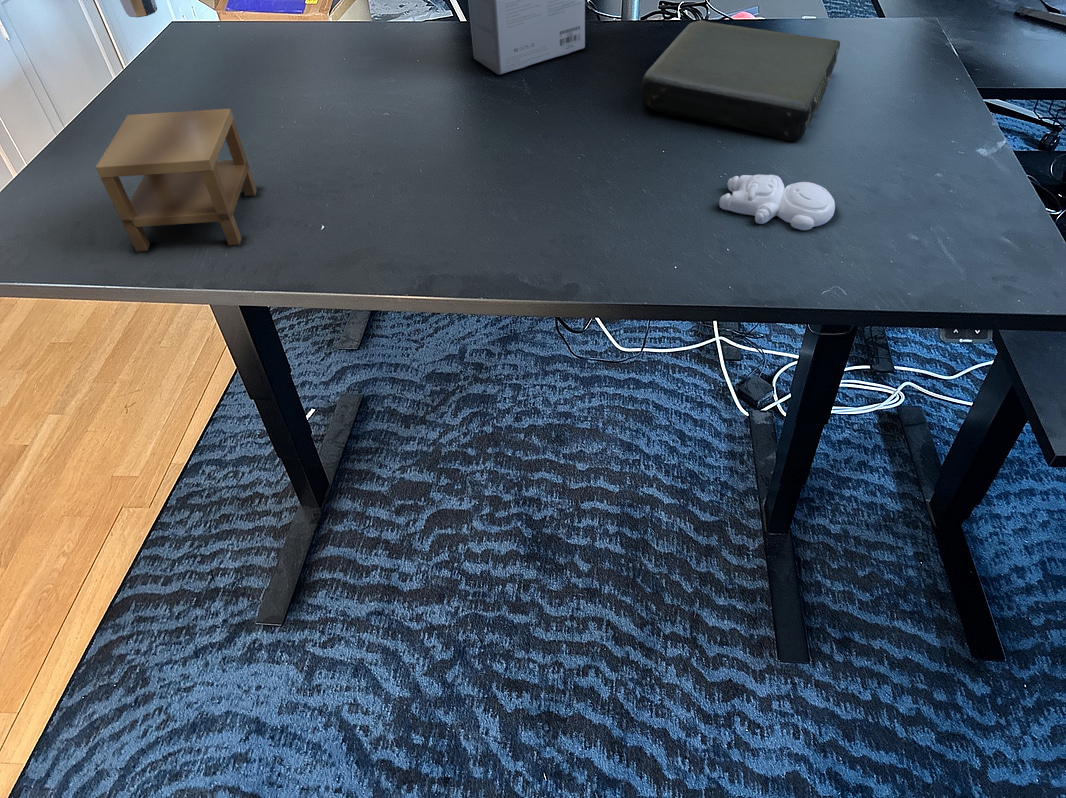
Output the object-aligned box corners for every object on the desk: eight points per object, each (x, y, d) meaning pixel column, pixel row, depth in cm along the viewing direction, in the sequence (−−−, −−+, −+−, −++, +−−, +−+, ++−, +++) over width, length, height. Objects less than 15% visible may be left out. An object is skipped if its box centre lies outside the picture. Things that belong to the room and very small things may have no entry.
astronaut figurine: (734, 176, 89) (738, 152, 87) (839, 198, 86) (847, 174, 83) (711, 214, 84) (715, 190, 82) (823, 240, 80) (830, 215, 78)
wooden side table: (136, 251, 82) (94, 167, 75) (162, 196, 90) (127, 114, 83) (239, 244, 83) (208, 159, 76) (257, 190, 90) (230, 108, 83)
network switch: (822, 147, 93) (832, 108, 90) (632, 123, 99) (635, 85, 95) (834, 67, 108) (843, 30, 105) (669, 50, 114) (672, 14, 110)
